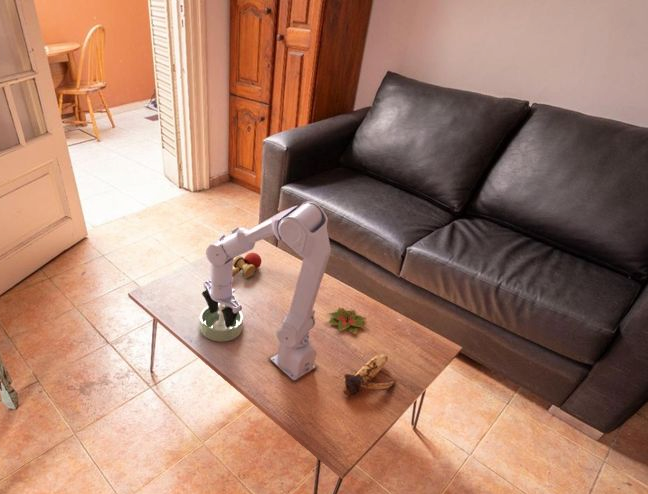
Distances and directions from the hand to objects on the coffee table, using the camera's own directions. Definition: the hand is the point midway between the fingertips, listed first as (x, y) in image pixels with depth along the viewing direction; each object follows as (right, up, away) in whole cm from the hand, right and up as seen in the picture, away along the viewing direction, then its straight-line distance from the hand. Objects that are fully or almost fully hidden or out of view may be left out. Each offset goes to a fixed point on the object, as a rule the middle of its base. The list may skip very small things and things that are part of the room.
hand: (221, 318), depth 123 cm
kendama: (+6, +15, +23) cm, 28 cm away
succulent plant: (+38, -1, +5) cm, 38 cm away
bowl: (0, -3, +2) cm, 4 cm away
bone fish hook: (+39, -16, -12) cm, 44 cm away
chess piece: (0, -3, +2) cm, 3 cm away
